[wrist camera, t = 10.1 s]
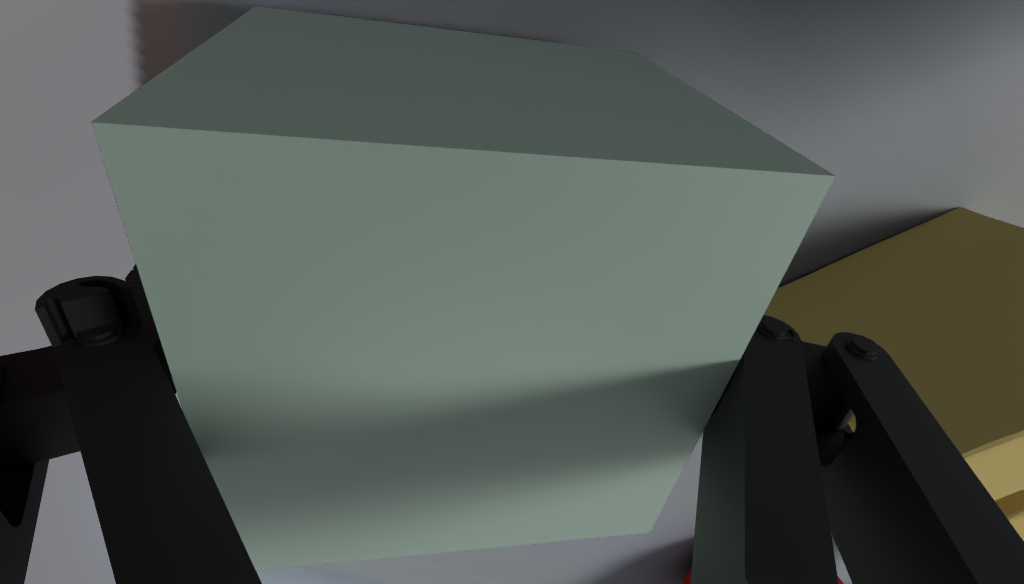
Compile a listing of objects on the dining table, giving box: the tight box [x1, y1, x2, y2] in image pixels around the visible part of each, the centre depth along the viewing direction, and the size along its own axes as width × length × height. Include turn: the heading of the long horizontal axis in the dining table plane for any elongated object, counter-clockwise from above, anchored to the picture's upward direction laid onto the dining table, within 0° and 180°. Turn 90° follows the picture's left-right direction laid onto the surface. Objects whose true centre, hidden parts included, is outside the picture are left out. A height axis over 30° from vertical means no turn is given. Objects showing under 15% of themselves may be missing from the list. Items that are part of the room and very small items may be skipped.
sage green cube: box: [91, 6, 836, 571], centre depth 14 cm, size 10×10×9 cm
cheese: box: [764, 208, 1024, 541], centre depth 23 cm, size 10×11×10 cm
